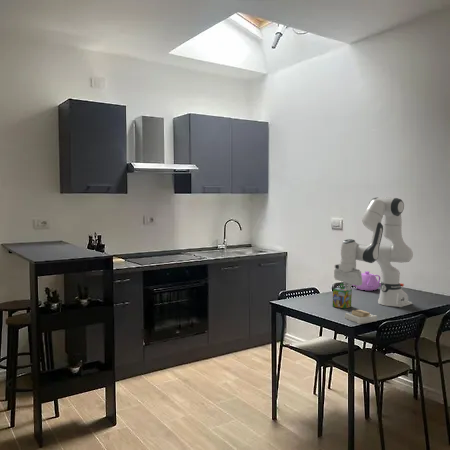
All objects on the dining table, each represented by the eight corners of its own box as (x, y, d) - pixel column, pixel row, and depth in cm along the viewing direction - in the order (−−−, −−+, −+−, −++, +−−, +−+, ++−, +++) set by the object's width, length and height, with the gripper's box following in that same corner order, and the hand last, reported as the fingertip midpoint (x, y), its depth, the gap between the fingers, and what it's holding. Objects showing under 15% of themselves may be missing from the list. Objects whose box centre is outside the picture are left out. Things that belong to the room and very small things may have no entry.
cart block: (359, 318, 267) (359, 309, 267) (369, 321, 260) (369, 312, 260) (351, 319, 265) (351, 310, 264) (361, 322, 258) (361, 314, 257)
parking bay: (361, 315, 271) (361, 310, 271) (376, 320, 261) (376, 315, 261) (344, 318, 265) (344, 313, 265) (359, 323, 254) (359, 318, 254)
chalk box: (345, 309, 287) (346, 285, 286) (331, 306, 293) (332, 283, 292) (351, 306, 294) (352, 283, 293) (338, 304, 300) (339, 281, 299)
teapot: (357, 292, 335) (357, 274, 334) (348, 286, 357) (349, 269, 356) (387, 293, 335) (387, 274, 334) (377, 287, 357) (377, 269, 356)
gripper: (365, 269, 263) (364, 293, 265) (340, 263, 281) (340, 286, 282) (356, 270, 260) (356, 294, 262) (332, 264, 278) (332, 287, 280)
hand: (347, 290), depth 272 cm, fingers closed
